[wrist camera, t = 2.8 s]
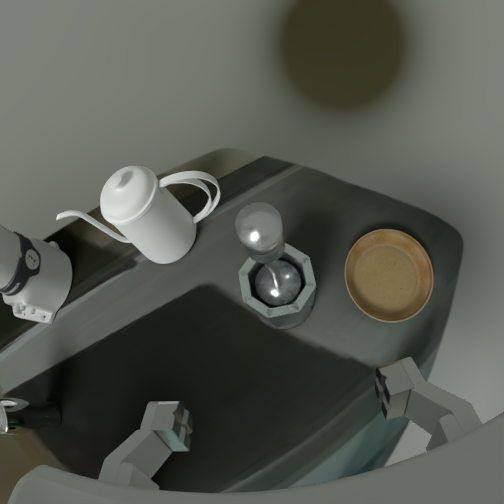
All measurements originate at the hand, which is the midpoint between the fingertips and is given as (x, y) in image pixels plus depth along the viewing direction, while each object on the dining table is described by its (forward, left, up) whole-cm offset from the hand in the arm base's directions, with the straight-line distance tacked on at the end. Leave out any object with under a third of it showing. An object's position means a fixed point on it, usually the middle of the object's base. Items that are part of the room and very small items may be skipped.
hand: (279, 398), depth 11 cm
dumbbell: (0, +11, -23) cm, 25 cm away
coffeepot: (-18, +26, -33) cm, 45 cm away
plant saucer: (+17, +10, -33) cm, 38 cm away
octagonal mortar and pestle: (0, +11, -32) cm, 34 cm away
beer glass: (-50, -6, -33) cm, 60 cm away
